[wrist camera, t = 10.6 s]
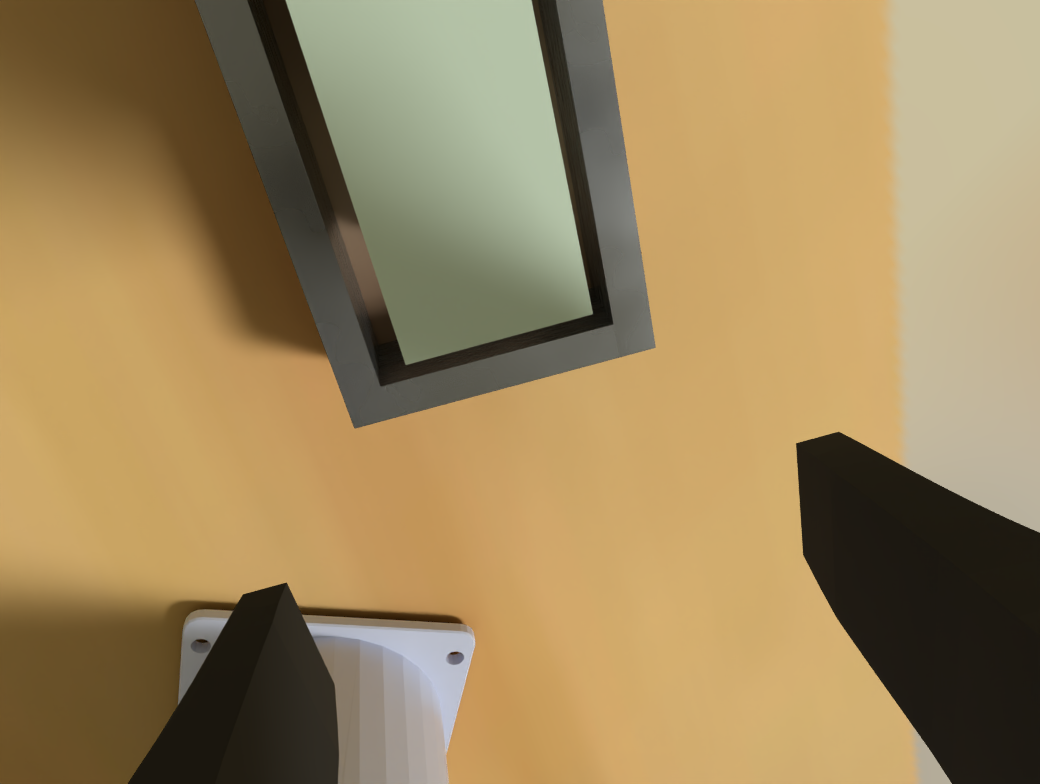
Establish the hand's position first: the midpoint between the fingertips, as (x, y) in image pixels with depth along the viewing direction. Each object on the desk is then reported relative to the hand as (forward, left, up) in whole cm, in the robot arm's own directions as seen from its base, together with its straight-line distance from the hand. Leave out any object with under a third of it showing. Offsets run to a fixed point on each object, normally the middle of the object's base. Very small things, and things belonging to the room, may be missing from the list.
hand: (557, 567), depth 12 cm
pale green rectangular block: (+6, +3, -9) cm, 11 cm away
